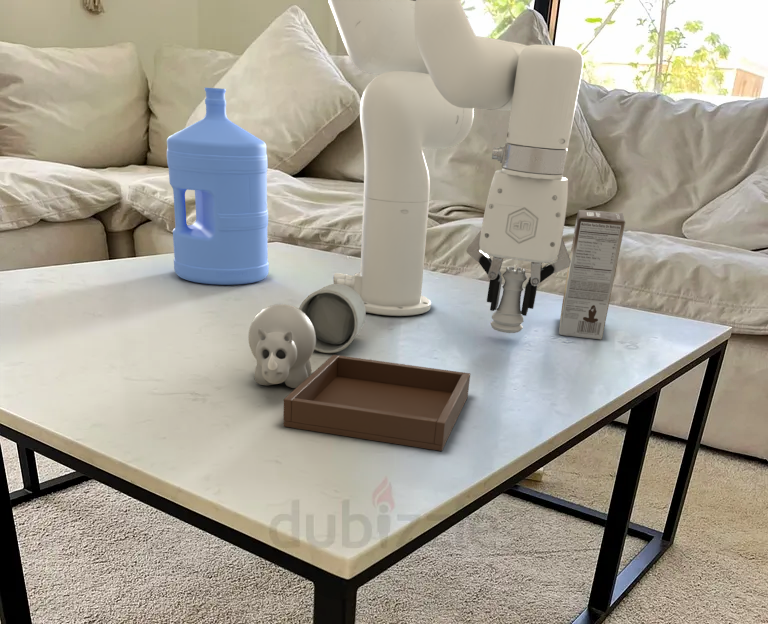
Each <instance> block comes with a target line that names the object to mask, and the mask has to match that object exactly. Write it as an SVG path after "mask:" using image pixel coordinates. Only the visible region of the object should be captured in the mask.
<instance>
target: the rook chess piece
mask: <svg viewBox="0 0 768 624" xmlns="http://www.w3.org/2000/svg"><path fill="white" fill-rule="evenodd" d="M502 278H503V280H504V284H503V285H501V288H502V296H501V298H500V300H499V301H500V302H499V303H498V307H497V308H496V310H495V311H494V312H493V313H492V315H491V319H492V321H491V322H490V326H491V328H492V329H493V330H494V331H497V332H500V333H505V334H516V333H520V332H521V331H522V330H523V328H524V326H523V325H522V324H523V323H524V321H525V320H524V315H522V314H521V310H522V309H521V298H522V297H521V296H522V292H523V291H524V287H523V284H524V282H525V281H526V280H527V279H528V276H527V275H526V269H525V268H522V267H519V266H517V267H516V269H515V266H507V267H506V268H505V271H504V273H502Z"/></svg>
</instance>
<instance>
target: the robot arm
mask: <svg viewBox="0 0 768 624" xmlns="http://www.w3.org/2000/svg"><path fill="white" fill-rule="evenodd" d="M327 1H328V4H329V7H330V10H331V13H332V15H333V17H334V20H335V23H336V26H337V29H338V32H339V34H340V37H341V40H342V43H343V45H344V48H345V51H346V52H347V55H348V57H349V60H350V61H351V63H352V64H353V66H354V67H355V68H356V69H357V70H359V71H360V72H363V73H366V74H369V75H374V76H375V75H376V76H375V77H374V78H373V79H371V81H370V82H368V84H367V85H366V87H364V90H363V92H362V96H361V99H360V104H359V121H360V130H361V137H362V144H363V163H364V164H363V166H364V167H363V169H364V170H363V171H364V172H363V201H362V203H363V205H362V221H361V222H362V225H361V244H360V245H361V247H360V248H361V249H360V269H359V272H358V273H357V272H356V273H354V274H352V275H351V274H347V273H340V272H335V273H334V275H333V284H342V285H346V286H348V287H351V288H352V289H354V290H355V291H356V292H357V293H358V294H359V295H360V296H361V298H362V300H363V302H364V305H365V310H366V313H368V314H373V315H379V316H380V315H381V316H393V317H395V316H396V317H402V316H403V317H404V316H405V317H408V316H418V315H421V314H425V313H428V312H429V311H430V310H431V305H432V302H431V300H430V299H429V298H427V297H426V296H424V295H422V291H423V280H424V267H425V257H426V255H425V254H426V245H427V231H428V220H429V219H428V218H429V209H430V208H429V207H430V193H431V192H430V191H431V179H430V172H429V168H428V165H427V161H426V158H425V154H424V150H445V149H451V148H454V147H457V146H458V145H460V144H461V143H462V142H463V141H465V140H466V138H467V137H468V135H469V134H470V132H471V130H472V126H473V122H474V116H475V115H474V114H475V113H474V112H475V111H474V109H476V110H488V111H502V112H509V113H510V114H509V120H508V126H507V133H506V141H505V143H504V145H502V146H499V147H493V148H492V153H491V160H497V161H498V162H499V163H500V164H501V169H497V170H495V171H494V174H493V177H492V179H491V183H490V186H489V190H488V193H487V199H486V203H485V208H484V213H483V218H482V224H481V228H480V231H479V232H478V233H477V234H476V235H475V237H474V239H473V240H471V242H470V243H469V245H468V246H467V248H466V253H467V254H468V256H470V258H471V257H472V259H474V260H475V261H476V262H478V263H479V265H480V266H481V268H482V269H483V271H484V272H485V273H486V275H487V277H488V278H489V283H488V290H487V295H486V296H487V297H486V303H490V307H489V311H491V312H495V311H497V310H496V309H497V308H498V307H499V304H500V302H499V301H500V297H501V291H502V283H503V277H502V272H501V269H502V266H503V263H504V260H505V259H508V260H515V261H520V262H521V261H522V262H529V263H530V276H529V278H528V281H527V282H526V285H525V287H524V294H523V300H522V305H521V309H520V310H521V315H522V316H523V317H527V314H528V312H529V309H531V310H533V309H534V307H535V302H536V296H537V291H538V286H539V284H541V283H542V282H544V281H545V280H546V279H548V278H549V277H550V276H552V275H553V274H555V273H558V272H561V271H563V270H566V269H568V267H569V266H570V263H571V261H570V254H569V253H568V250H567V247H566V244H565V241H564V239H563V234H564V227H565V223H566V222H565V221H566V214H567V207H568V196H569V195H568V193H569V180H568V178H567V177H564V171H565V166H566V161H567V155H568V149H569V144H570V140H571V134H572V127H573V122H574V117H575V113H576V112H575V111H576V107H577V101H578V95H579V90H580V85H581V80H582V74H583V67H584V58H583V55H582V53H581V52H580V51H579V50H578V49H576V48H573V47H569V46H561V45H551V44H538V43H537V44H529V45H527V44H523V43H519V42H514V41H509V40H502V39H500V38H499V39H498V38H493V37H492V38H491V37H486V36H478V35H476V33H475V31H474V30H473V28H472V25H471V23H470V21H469V18H468V17H467V15H466V12H465V9H464V7H463V5H462V2H461V0H327ZM491 257H492V258H491ZM543 264H545V265H544V266H543Z"/></svg>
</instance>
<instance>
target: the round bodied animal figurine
mask: <svg viewBox="0 0 768 624" xmlns="http://www.w3.org/2000/svg"><path fill="white" fill-rule="evenodd" d="M247 338H248V346H249V349H250V351H251V354H252V356H253V357H254V358H255V360H256V365H255V368H254V374H253V375H254V381H255V382H256V383H257V384H259V385H261V386H273V385H278V384H282V383H284V384H285V386H286V387H288V388H292V389H296V388H297V387H298V386H299V385H300V384H301V383H302V382H303V381H305V380H306V379H307V378H308V377H309V376H310V375H311V374H312V364H311V360H310V359H311V358H312V355H313V353H314V352H315V350H314V349H315V344H316V335H315V330H314V327H313V324H312V322H311V321H310V319H309V318H308V317H307V315H306V314H305V313H303V312H302V311H301V310H299V308H298V307H295V306H293V305H290V304H285V303H277V304H272V305H270V306H267V307H265V308H263V309H262V310H261V311H259V312H258V313H257V314H256V316H254V318H253V320H252V321H251V323H250V326H249V330H248V337H247Z"/></svg>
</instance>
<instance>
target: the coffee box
mask: <svg viewBox="0 0 768 624" xmlns="http://www.w3.org/2000/svg"><path fill="white" fill-rule="evenodd" d="M625 226H626V219H625V217H624V214H623V212H612V211H603V210H602V211H600V210H590V209H589V210H588V209H578V210H577V215H576V219H575V225H574V230H573V237H572V243H571V249H570V254H569V258H570V261H571V263H570V266H569V267H568V268H567V272H566V279H565V285H564V292H563V298H562V304H561V312H560V316H559V317H560V318H559V329H558V335H560V336H566V337H575V338H586V339H594V340H603V337H604V331H605V326H606V322H607V316H608V310H609V306H610V301H611V297H612V293H613V292H612V291H613V285H614V281H615V276H616V272H617V267H618V262H619V257H620V251H621V248H622V247H621V246H622V241H623V237H624V232H625Z"/></svg>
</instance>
